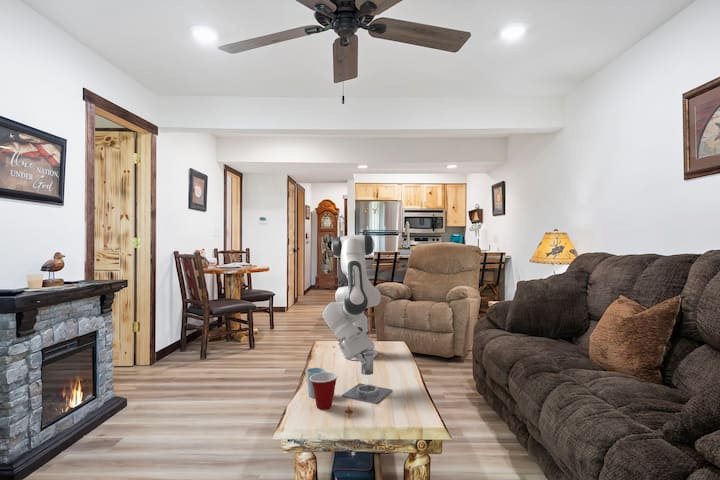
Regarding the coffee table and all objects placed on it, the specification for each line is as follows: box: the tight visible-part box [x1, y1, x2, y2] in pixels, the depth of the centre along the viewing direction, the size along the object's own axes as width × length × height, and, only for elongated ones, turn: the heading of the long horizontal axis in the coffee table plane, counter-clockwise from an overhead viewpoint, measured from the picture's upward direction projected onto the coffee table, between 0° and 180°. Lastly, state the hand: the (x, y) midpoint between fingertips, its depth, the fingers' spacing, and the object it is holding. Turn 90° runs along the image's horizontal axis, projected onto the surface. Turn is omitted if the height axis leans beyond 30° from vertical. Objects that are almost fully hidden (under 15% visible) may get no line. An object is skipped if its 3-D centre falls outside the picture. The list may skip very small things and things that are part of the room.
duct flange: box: [341, 383, 393, 405], centre depth 169 cm, size 16×16×2 cm
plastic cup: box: [310, 371, 339, 411], centre depth 155 cm, size 11×11×12 cm
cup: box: [305, 367, 326, 399], centre depth 166 cm, size 8×8×10 cm
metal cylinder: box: [360, 350, 374, 376], centre depth 169 cm, size 5×5×9 cm
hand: (368, 361), depth 168 cm, fingers closed on metal cylinder, 5 cm apart
